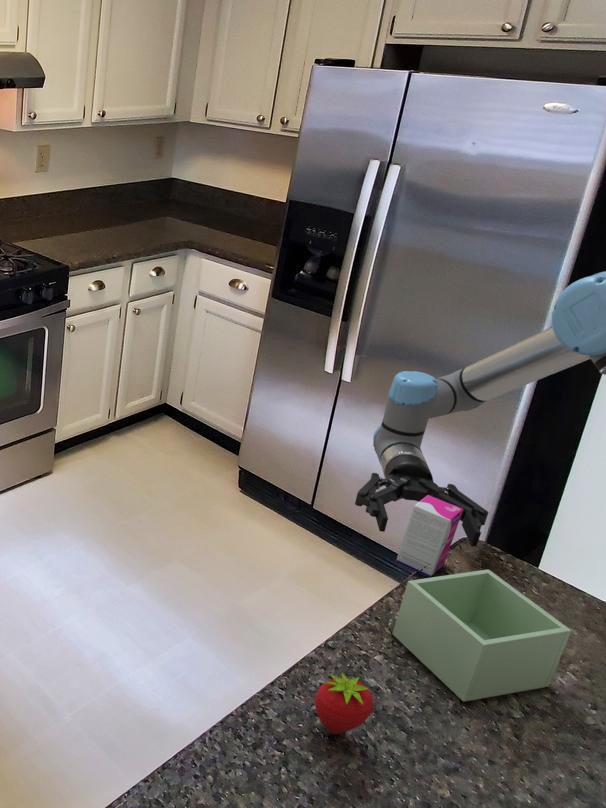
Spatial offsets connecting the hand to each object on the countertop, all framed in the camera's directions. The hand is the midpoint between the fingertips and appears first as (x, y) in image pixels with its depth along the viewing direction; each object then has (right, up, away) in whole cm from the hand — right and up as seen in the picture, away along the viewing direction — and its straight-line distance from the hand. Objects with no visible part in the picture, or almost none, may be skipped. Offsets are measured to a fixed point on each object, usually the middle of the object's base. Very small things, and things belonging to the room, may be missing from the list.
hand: (429, 532), depth 132 cm
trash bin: (-6, -15, -18) cm, 24 cm away
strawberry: (-30, -21, -30) cm, 48 cm away
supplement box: (0, -6, +3) cm, 7 cm away
